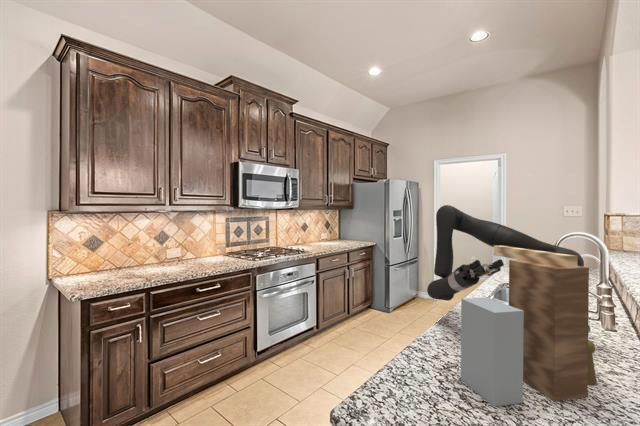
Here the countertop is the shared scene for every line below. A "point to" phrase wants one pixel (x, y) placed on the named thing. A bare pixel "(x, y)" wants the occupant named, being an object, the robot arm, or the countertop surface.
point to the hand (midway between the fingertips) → (490, 262)
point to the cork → (591, 364)
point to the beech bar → (537, 256)
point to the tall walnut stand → (553, 326)
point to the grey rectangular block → (492, 350)
